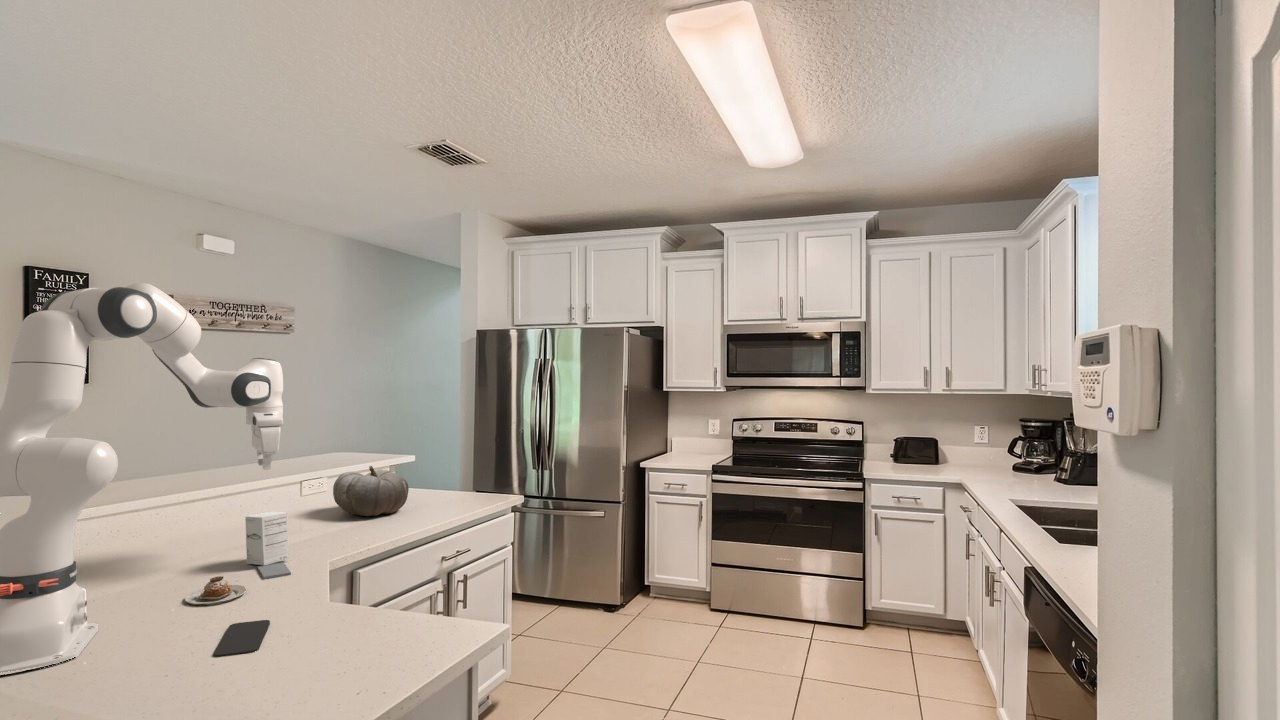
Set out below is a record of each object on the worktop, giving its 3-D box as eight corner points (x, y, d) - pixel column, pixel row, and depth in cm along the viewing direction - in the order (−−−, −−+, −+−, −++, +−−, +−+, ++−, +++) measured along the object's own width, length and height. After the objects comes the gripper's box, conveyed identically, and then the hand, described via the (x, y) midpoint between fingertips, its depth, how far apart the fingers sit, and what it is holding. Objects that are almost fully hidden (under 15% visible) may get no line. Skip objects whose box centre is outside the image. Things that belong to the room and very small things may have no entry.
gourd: (312, 510, 224) (323, 459, 226) (362, 507, 248) (372, 460, 250) (372, 524, 217) (383, 471, 219) (418, 519, 240) (427, 472, 242)
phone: (211, 655, 121) (230, 623, 135) (211, 660, 121) (229, 627, 135) (258, 650, 123) (271, 619, 137) (257, 654, 123) (271, 623, 137)
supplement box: (245, 564, 174) (244, 516, 175) (272, 557, 181) (270, 510, 181) (263, 566, 171) (261, 517, 171) (290, 558, 177) (288, 511, 178)
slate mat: (290, 574, 166) (290, 572, 166) (263, 579, 163) (263, 576, 163) (283, 564, 174) (283, 562, 174) (257, 568, 171) (257, 566, 171)
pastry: (259, 592, 155) (259, 573, 155) (213, 611, 143) (213, 590, 143) (218, 587, 158) (219, 568, 158) (171, 605, 147) (171, 584, 147)
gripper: (246, 414, 188) (245, 463, 188) (257, 420, 172) (256, 473, 172) (271, 413, 192) (270, 461, 192) (284, 419, 176) (283, 471, 176)
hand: (264, 467), depth 182 cm, fingers open, 7 cm apart
